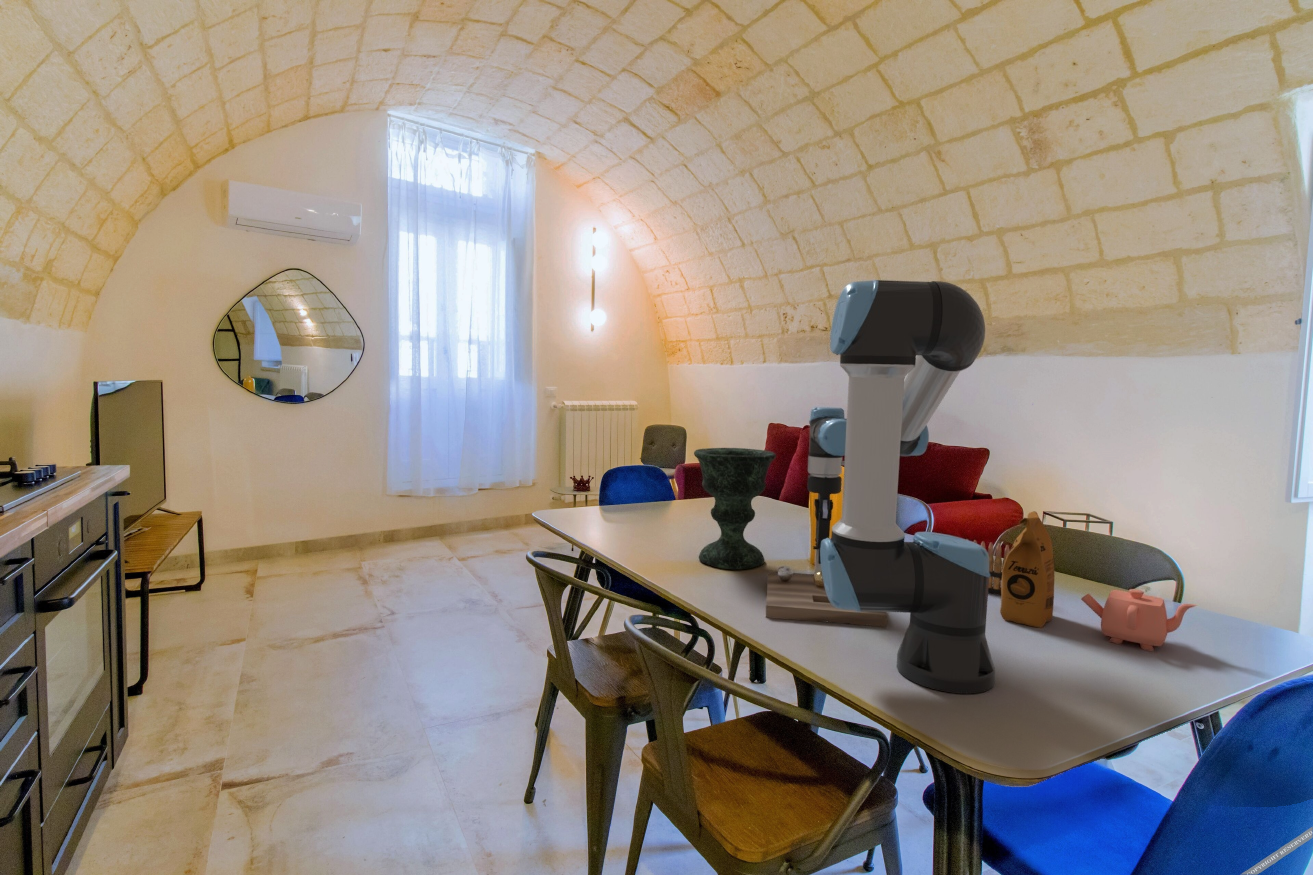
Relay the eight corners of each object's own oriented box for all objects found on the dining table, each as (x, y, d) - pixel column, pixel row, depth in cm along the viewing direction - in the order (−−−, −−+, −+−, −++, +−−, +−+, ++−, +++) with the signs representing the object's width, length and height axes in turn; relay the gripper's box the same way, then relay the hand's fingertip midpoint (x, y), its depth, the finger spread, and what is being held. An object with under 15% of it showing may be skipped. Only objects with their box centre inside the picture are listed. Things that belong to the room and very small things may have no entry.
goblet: (681, 567, 175) (684, 453, 172) (701, 547, 196) (704, 446, 194) (766, 576, 168) (770, 457, 166) (777, 554, 190) (780, 449, 187)
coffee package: (991, 618, 140) (997, 515, 138) (1007, 604, 150) (1013, 507, 148) (1044, 631, 134) (1052, 522, 132) (1058, 615, 143) (1065, 514, 141)
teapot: (1115, 652, 123) (1119, 599, 122) (1076, 629, 135) (1079, 580, 134) (1193, 655, 123) (1198, 601, 122) (1147, 631, 135) (1151, 582, 134)
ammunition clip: (1009, 594, 157) (1012, 544, 156) (1007, 596, 156) (1011, 545, 155) (961, 585, 164) (964, 537, 163) (959, 587, 162) (962, 538, 161)
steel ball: (792, 583, 154) (793, 568, 154) (777, 582, 155) (777, 567, 154) (792, 578, 157) (792, 564, 157) (777, 577, 158) (777, 563, 158)
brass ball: (828, 586, 153) (829, 588, 150) (812, 585, 154) (813, 586, 150) (828, 571, 153) (829, 572, 150) (813, 570, 154) (813, 571, 151)
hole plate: (886, 626, 134) (887, 614, 134) (765, 617, 138) (766, 605, 138) (869, 588, 160) (869, 578, 159) (767, 581, 164) (768, 571, 164)
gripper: (844, 479, 145) (839, 585, 147) (839, 471, 158) (835, 569, 160) (809, 478, 147) (805, 583, 148) (806, 470, 159) (802, 567, 161)
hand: (820, 576), depth 154 cm, fingers closed
